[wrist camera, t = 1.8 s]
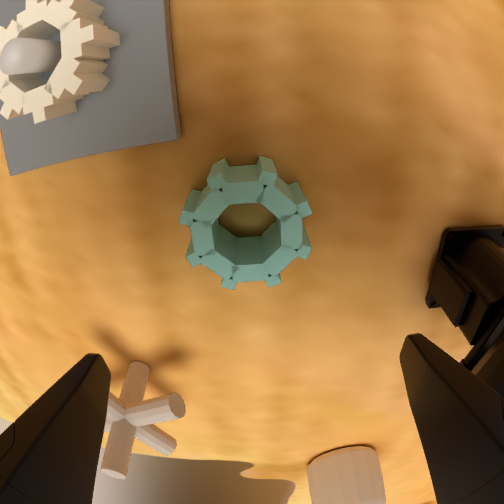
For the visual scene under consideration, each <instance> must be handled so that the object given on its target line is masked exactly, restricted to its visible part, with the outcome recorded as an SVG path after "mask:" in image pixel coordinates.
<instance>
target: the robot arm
mask: <svg viewBox="0 0 504 504" xmlns="http://www.w3.org/2000/svg"><path fill="white" fill-rule="evenodd" d="M450 235H451V236H450ZM449 236H450V237H449ZM448 237H449V238H448ZM432 301H433V302H432ZM426 305H427V306H428V308H437V307H442V309H443V310H444V312H445V313H446V315H447V316H448V318H449V319H450V321H451V322H452V324H453V325H454V326H455V327H459V328H460V330H461V331H462V333H463V334H464V336H465V337H466V339H467V340H468V342H469V343H470V345H471V346H472V345H474V346H473V348H472V349H471V350H470V352H469V353H468V354H467V356H466V357H465V358H464V359H462V360H461V361H460V363H459V362H458V361H456V360H455V359H454V358H452V357H451V356H450V355H448V354H447V353H446V352H444V351H443V350H442V349H440V348H439V347H438V346H436V345H435V344H434V343H432V342H431V341H430V340H428V339H427V338H426V337H424V336H423V335H422V334H420V333H416V334H410V335H407V336H406V338H405V341H404V344H403V347H402V350H401V352H400V363H401V367H402V372H403V376H404V380H405V385H406V390H407V395H408V399H409V403H410V407H411V410H412V413H413V416H414V420H415V423H416V426H417V429H418V432H419V436H420V439H421V443H422V446H423V450H424V453H425V457H426V460H427V464H428V468H429V471H430V475H431V479H432V483H433V487H434V491H435V496H436V500H437V504H504V226H502V225H501V226H481V227H461V228H448V229H446V230H445V231H444V233H443V236H442V240H441V245H440V249H439V254H438V258H437V262H436V265H435V269H434V273H433V277H432V281H431V284H430V288H429V292H428V295H427V299H426ZM110 381H111V373H110V370H109V368H108V367H107V365H106V363H105V361H104V359H103V357H102V356H101V355H100V354H95V353H88V354H86V355H85V356H84V357H83V358H82V359H81V360H80V361H79V362H78V363H76V364H75V365H74V366H73V367H72V368H71V369H70V370H69V371H68V372H67V373H65V374H64V375H63V376H62V377H61V378H60V379H59V380H58V381H57V382H56V383H55V384H54V385H52V386H51V387H50V388H49V389H48V390H47V391H46V392H45V393H44V394H43V395H42V396H41V397H40V398H39V399H38V400H36V401H35V402H34V403H33V404H32V405H31V406H30V407H29V408H28V409H27V410H26V411H25V412H24V413H23V414H22V415H21V416H20V417H19V418H17V419H16V420H15V422H13V423H12V424H11V425H10V426H9V427H8V428H7V429H6V430H5V431H4V432H3V433H2V434H1V435H0V504H92V498H93V491H94V484H95V477H96V471H97V465H98V459H99V453H100V448H101V443H102V438H103V433H104V428H105V423H106V416H107V407H108V398H109V389H110Z"/></svg>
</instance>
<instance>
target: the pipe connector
mask: <svg viewBox="0 0 504 504" xmlns="http://www.w3.org/2000/svg"><path fill="white" fill-rule="evenodd" d="M149 373H150V368H149V367H148V366H147V365H146V364H144V363H142V362H139V361H133V362H131V363H130V365H129V368H128V371H127V374H126V378H125V381H124V384H123V387H122V391H121V394H120V397H119V399H118V398H117V397H116V396H115V395H113V394H112V393H111V392H110V391H109V398H108V407H107V416H106V423H105V428H104V432H107V431H110V433H109V437H108V441H107V445H106V449H105V453H104V457H103V461H102V465H101V472H103V473H104V474H106V475H108V476H111V477H114V478H118V479H125V478H126V476H127V471H128V466H129V461H130V456H131V451H132V446H133V441H134V437H135V438H137V439H138V440H140V441H142V442H143V443H145V444H146V445H148V446H150V447H151V448H153V449H155V450H156V451H158V452H160V453H162V454H163V455H169V454H171V453H172V452H173V451H174V450H175V448H176V445H177V444H176V440H175V439H174V438H173V437H172V436H170V435H169V434H167V433H166V432H164V431H163V430H161V429H160V428H158V427H157V426H155V425H154V424H155V423H160V422H165V421H169V420H174V419H179V418H182V417H184V415H185V412H186V409H185V403H184V401H183V399H182V398H181V396H180V395H179V394H177V393H171V394H167V395H164V396H160V397H156V398H152V399H149V400H145V401H143V397H144V393H145V389H146V385H147V381H148V377H149Z"/></svg>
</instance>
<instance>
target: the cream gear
mask: <svg viewBox="0 0 504 504" xmlns="http://www.w3.org/2000/svg"><path fill="white" fill-rule="evenodd" d="M104 9H105V8H104V7H103V6H101V5H99V4H97V3H95V2H93V1H91V0H26V10H24V11H22V12H21V13H19V14H17V20H13V19H12V21H11V22H10V24H9V26H0V54H1V51H2V49H3V47H4V46H5V44H6V43H7V42H8V41H9V40H11V39H13V38H32V39H43V40H50V39H51V37H52V36H53V34H55V33H58V32H60V39H61V55H62V58H61V59H60V61H59V63H58V64H57V66H56V68H55V70H54V71H53V73H52V75H51V77H50V78H49V80H48V81H47V80H46V79H45V78H43V76H42V72H36V73H24V74H13V75H6V74H4V73H3V72H2V71H1V69H0V99H1V100H2V101H3V102H4V104H3V106H2V108H1V111H0V114H1V115H2V116H4V117H5V118H6V119H7V120H8V119H12V118H15V117H19V116H22V115H26V114H29V113H33V119H34V124H36V123H39V122H42V121H46V120H49V119H52V118H56V117H59V116H63V115H66V114H70V113H73V112H77V108H76V100H79V99H82V98H84V95H87V94H89V93H91V92H99V91H103V90H104V89H105V87H106V85H107V84H108V83H109V81H110V80H111V79H109V78H108V77H106V76H105V75H103V74H102V73H103V72H104V70H105V69H106V67H107V66H108V64H107V63H105V62H104V61H103V60H106V59H110V51H109V48H112V47H116V46H120V33H119V32H116V31H113V30H110V29H108V26H105V25H103V24H104V23H105V21H103V20H101V19H100V18H98V17H99V16H100V14H101V13H102V12H103V10H104Z"/></svg>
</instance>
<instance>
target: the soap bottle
mask: <svg viewBox="0 0 504 504" xmlns="http://www.w3.org/2000/svg"><path fill="white" fill-rule="evenodd" d="M307 473H308V481H309V490H310V495H311V500H312V504H386V495H385V489H384V482H383V476H382V471H381V467H380V463H379V459H378V455H377V453H376V451H374V450H373V449H372V448H370V447H366V446H353V447H346V448H341V449H337V450H333V451H331V452H328V453H325V454H322V455H320V456H319V457H317V458H315V459H314V460H313V461H312V462H311V463H310V464H309V466H308V468H307Z"/></svg>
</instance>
